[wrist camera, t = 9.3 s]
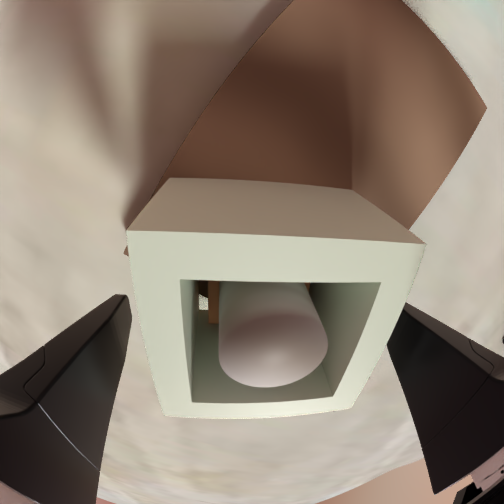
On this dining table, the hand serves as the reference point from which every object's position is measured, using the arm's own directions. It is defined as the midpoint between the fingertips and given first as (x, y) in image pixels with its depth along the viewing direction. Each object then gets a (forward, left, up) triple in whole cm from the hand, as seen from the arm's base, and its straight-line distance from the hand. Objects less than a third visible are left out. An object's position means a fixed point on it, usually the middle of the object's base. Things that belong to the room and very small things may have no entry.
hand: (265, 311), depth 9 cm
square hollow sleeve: (0, 0, -3) cm, 3 cm away
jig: (+5, -2, -4) cm, 7 cm away
